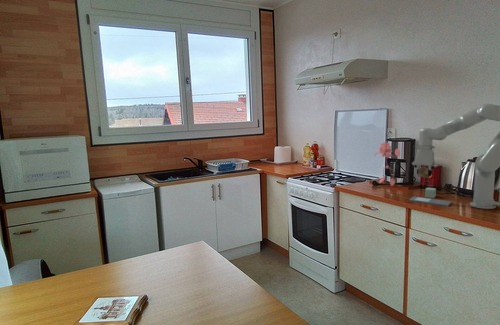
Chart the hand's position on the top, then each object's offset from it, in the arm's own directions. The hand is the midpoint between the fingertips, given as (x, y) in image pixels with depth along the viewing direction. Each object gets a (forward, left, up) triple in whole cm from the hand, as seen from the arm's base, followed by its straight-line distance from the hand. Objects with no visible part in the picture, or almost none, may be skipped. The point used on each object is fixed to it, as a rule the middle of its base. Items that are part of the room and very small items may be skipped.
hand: (423, 175), depth 205 cm
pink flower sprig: (+36, -33, -17) cm, 52 cm away
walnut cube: (0, 0, -1) cm, 1 cm away
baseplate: (-4, 0, -17) cm, 18 cm away
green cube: (-1, -15, -17) cm, 23 cm away
